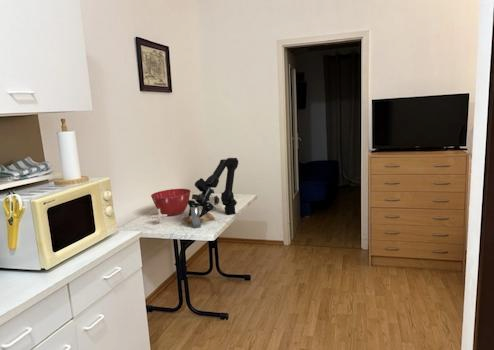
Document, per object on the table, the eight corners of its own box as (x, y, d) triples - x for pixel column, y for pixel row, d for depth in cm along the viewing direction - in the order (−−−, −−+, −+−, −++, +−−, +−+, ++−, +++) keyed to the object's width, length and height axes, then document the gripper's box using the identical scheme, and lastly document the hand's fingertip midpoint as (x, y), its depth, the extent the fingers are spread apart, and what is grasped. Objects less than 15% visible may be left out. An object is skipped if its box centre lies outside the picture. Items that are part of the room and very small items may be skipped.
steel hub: (199, 225, 240) (197, 205, 238) (201, 227, 236) (199, 207, 233) (192, 226, 239) (189, 206, 237) (193, 228, 234) (191, 208, 232)
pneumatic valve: (217, 211, 270) (216, 195, 268) (203, 211, 275) (201, 195, 273) (221, 209, 276) (219, 193, 274) (206, 209, 280) (205, 193, 278)
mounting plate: (209, 215, 262) (209, 212, 262) (214, 220, 249) (214, 216, 249) (184, 219, 256) (183, 216, 256) (188, 224, 243) (187, 221, 243)
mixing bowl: (171, 220, 256) (169, 198, 253) (145, 216, 273) (142, 195, 271) (200, 210, 278) (198, 190, 275) (174, 206, 295) (172, 187, 293)
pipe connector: (153, 222, 256) (152, 207, 254) (168, 220, 256) (167, 206, 255) (151, 226, 246) (149, 211, 244) (166, 225, 247) (165, 210, 245)
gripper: (187, 187, 242) (176, 208, 236) (208, 189, 231) (197, 211, 224) (197, 197, 250) (187, 217, 243) (218, 199, 238) (208, 220, 231)
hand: (194, 216), depth 235 cm, fingers open, 9 cm apart
